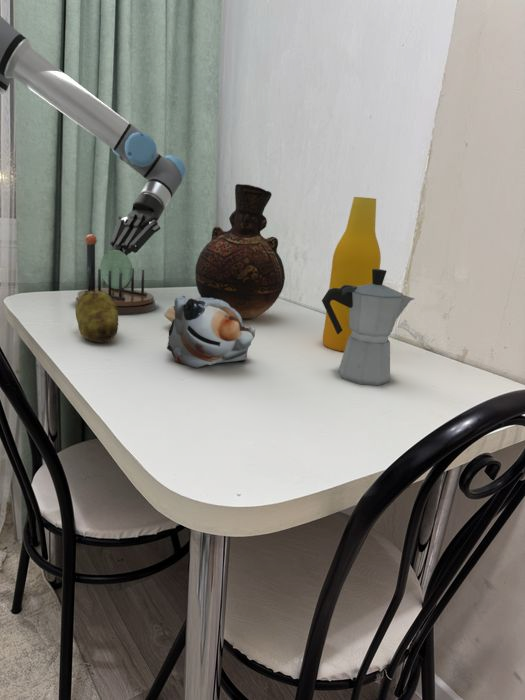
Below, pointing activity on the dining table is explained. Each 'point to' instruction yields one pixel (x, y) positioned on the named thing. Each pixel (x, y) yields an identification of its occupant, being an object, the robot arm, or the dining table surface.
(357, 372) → the coffee maker
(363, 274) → the beer bottle
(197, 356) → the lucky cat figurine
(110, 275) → the dish rack
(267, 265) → the ceramic vessel
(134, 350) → the dining table surface
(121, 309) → the base
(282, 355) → the dining table surface
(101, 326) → the potato
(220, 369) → the dining table surface
